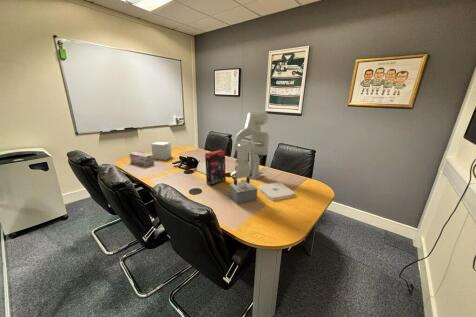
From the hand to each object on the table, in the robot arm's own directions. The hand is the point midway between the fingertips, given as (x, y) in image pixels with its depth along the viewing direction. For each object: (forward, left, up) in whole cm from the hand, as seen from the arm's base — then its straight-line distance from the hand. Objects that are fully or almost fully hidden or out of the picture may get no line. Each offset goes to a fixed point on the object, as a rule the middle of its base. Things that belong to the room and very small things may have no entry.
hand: (241, 183), depth 140 cm
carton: (-1, 0, -11) cm, 11 cm away
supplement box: (+47, -124, -12) cm, 133 cm away
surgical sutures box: (+68, -109, -12) cm, 130 cm away
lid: (-1, 0, -3) cm, 3 cm away
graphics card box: (+9, -33, -12) cm, 36 cm away
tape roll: (0, 0, -2) cm, 2 cm away
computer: (-29, +2, -12) cm, 32 cm away
